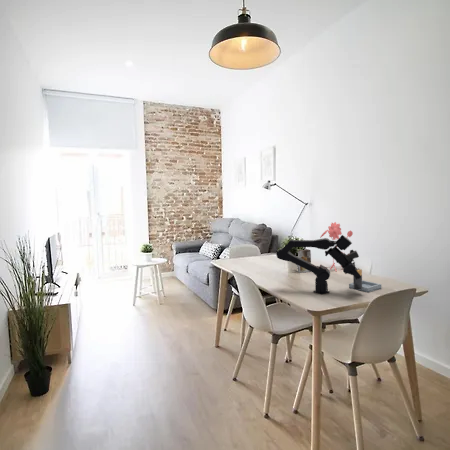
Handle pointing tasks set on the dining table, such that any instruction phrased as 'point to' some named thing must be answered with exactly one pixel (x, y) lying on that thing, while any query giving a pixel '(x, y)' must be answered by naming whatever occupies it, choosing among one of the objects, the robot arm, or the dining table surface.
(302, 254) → the coffee box
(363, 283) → the grey tray
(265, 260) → the dining table surface
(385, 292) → the dining table surface
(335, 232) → the pink flower sprig
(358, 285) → the big battery
